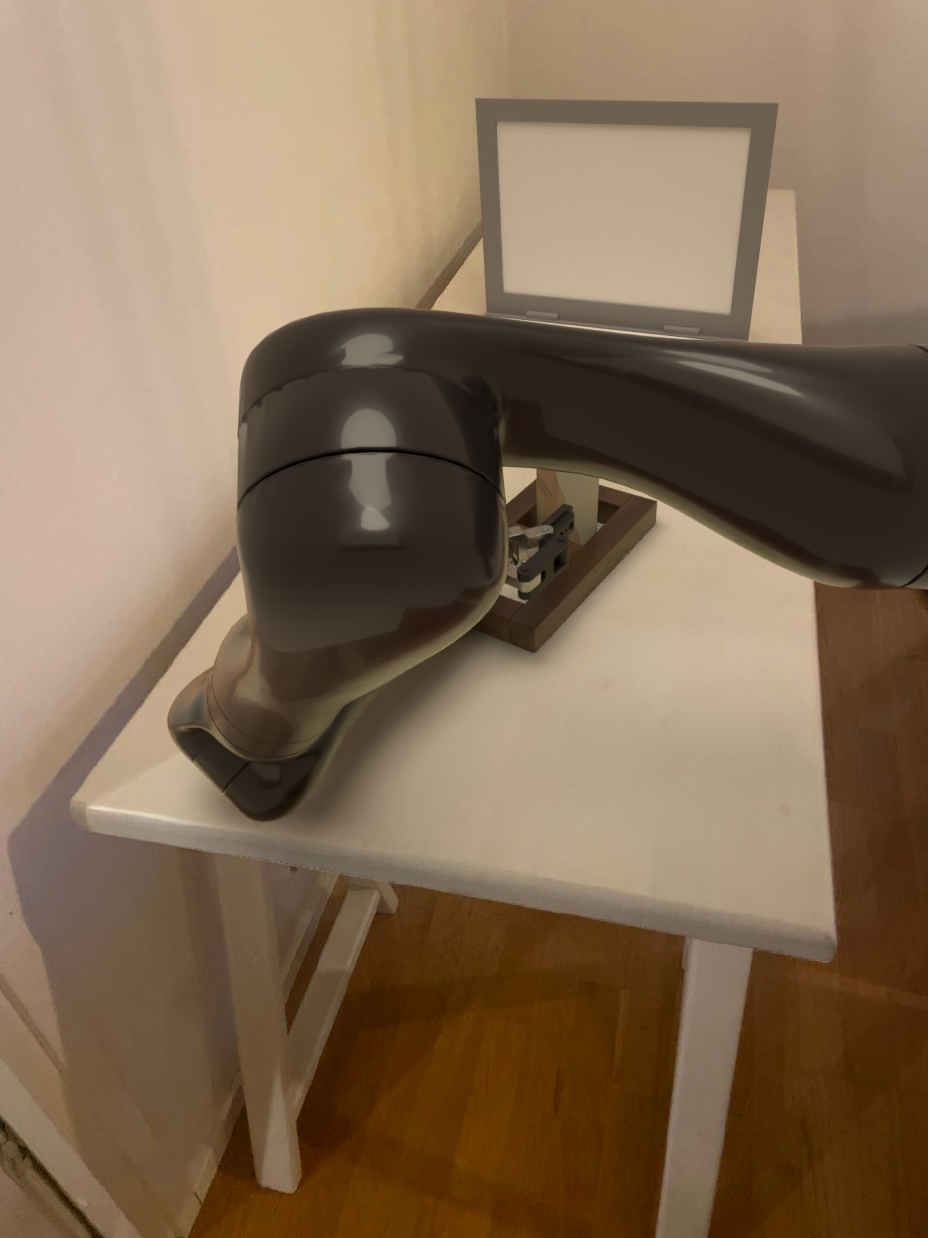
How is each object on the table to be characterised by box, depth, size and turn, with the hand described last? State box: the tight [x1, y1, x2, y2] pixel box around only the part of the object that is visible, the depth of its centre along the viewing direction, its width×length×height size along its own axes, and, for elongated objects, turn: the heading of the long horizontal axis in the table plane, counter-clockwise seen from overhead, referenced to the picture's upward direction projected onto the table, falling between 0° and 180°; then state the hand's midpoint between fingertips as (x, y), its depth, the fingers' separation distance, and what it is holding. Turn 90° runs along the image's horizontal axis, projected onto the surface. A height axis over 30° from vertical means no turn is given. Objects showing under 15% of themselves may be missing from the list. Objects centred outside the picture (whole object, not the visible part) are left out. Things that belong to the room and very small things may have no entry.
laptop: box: [474, 97, 780, 342], centre depth 105 cm, size 35×26×28 cm
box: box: [535, 469, 600, 545], centre depth 85 cm, size 5×4×11 cm
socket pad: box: [471, 478, 658, 653], centre depth 85 cm, size 12×22×2 cm, turn 145°
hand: (525, 500), depth 80 cm, fingers open, 8 cm apart
